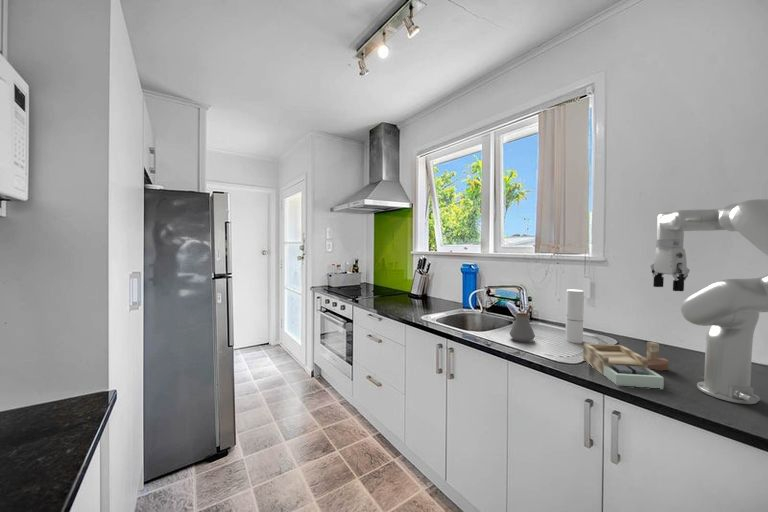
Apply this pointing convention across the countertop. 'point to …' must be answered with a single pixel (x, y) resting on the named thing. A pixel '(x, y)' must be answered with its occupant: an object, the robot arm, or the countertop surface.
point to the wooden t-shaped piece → (655, 357)
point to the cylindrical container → (574, 315)
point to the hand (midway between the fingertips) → (667, 288)
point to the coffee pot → (522, 328)
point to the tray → (635, 379)
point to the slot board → (611, 356)
